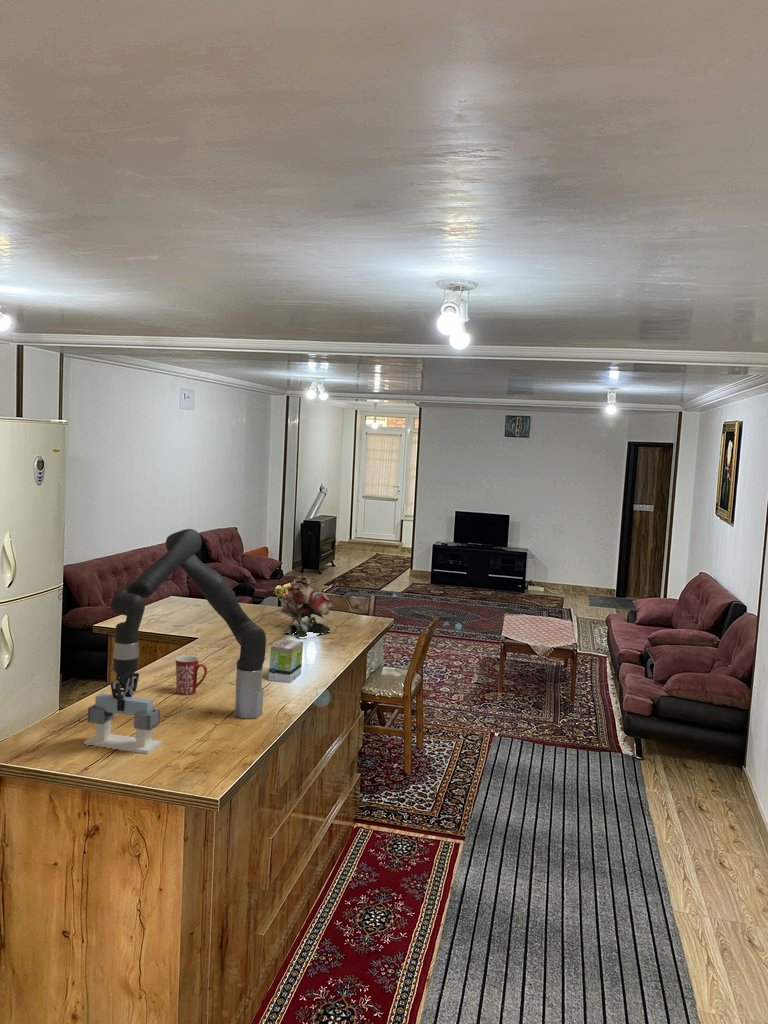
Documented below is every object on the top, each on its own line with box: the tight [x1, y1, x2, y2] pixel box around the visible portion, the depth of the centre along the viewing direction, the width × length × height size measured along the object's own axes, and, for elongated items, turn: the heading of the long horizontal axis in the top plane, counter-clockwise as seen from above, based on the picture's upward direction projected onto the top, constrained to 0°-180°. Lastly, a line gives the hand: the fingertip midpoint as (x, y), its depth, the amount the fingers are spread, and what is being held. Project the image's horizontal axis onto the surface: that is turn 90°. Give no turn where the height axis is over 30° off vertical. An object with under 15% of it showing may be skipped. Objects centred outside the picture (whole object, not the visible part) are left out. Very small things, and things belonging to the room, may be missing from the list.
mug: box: [174, 655, 208, 696], centre depth 311 cm, size 13×9×14 cm
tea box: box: [268, 639, 304, 683], centre depth 339 cm, size 15×10×15 cm
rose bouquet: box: [279, 575, 334, 639], centre depth 426 cm, size 26×29×30 cm
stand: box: [83, 704, 162, 755], centre depth 254 cm, size 22×9×12 cm, turn 78°
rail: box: [94, 693, 154, 716], centre depth 254 cm, size 18×4×4 cm, turn 78°
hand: (124, 708), depth 254 cm, fingers closed on rail, 3 cm apart
